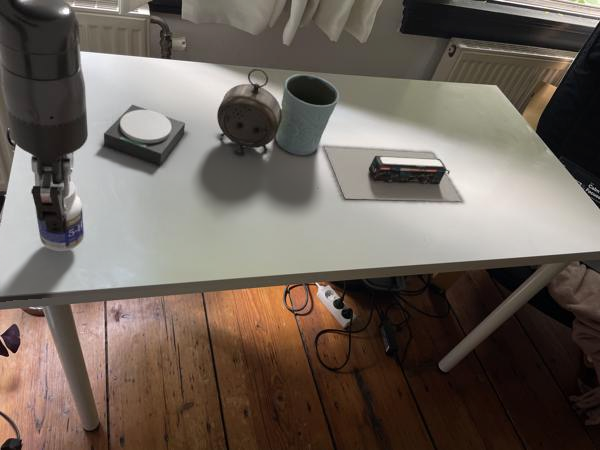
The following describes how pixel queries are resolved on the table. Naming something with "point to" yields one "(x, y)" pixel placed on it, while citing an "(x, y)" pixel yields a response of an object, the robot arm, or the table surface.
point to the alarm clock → (249, 115)
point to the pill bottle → (73, 225)
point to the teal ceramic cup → (305, 112)
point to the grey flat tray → (390, 175)
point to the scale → (144, 134)
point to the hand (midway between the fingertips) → (60, 213)
